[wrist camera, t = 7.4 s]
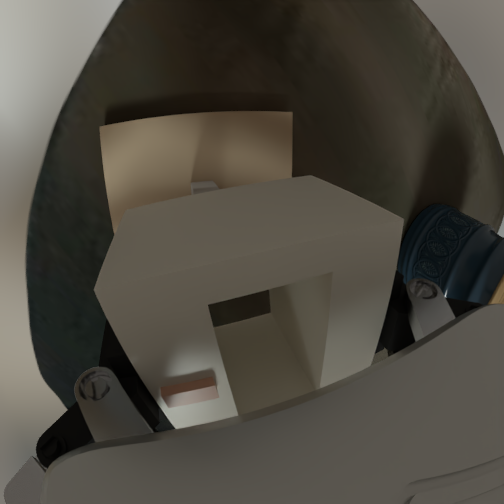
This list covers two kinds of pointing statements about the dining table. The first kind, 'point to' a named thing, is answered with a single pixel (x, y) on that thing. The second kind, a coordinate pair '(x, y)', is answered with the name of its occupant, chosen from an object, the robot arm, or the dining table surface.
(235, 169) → the base
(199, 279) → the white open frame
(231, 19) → the dining table surface
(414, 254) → the canister
